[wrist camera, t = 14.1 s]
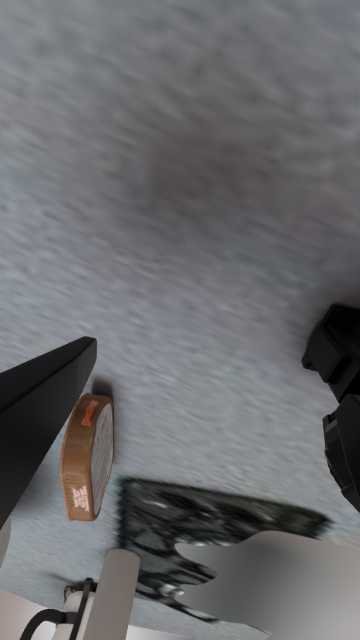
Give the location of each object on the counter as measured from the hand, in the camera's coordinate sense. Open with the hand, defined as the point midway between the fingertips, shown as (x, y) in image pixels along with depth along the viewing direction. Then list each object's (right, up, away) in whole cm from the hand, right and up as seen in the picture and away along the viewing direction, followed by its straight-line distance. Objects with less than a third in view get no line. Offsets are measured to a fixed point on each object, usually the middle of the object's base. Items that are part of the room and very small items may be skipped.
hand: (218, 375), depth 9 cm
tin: (-10, -11, +22) cm, 27 cm away
